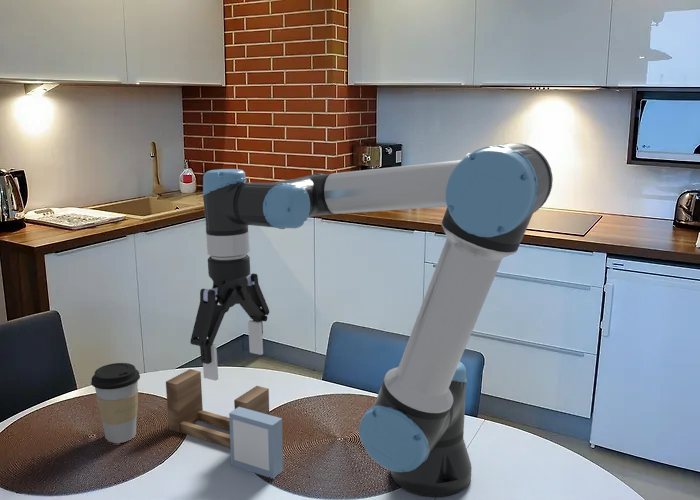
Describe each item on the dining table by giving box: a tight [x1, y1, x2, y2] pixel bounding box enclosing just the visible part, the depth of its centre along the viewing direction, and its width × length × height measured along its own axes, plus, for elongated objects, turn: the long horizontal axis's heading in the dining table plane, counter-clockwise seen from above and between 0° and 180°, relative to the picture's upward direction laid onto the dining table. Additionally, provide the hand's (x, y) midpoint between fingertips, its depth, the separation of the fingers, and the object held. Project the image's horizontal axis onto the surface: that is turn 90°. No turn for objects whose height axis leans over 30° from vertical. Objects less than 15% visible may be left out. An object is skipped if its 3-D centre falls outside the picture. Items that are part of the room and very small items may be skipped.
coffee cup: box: [90, 362, 141, 443], centre depth 134 cm, size 9×9×15 cm
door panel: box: [228, 407, 284, 480], centre depth 123 cm, size 10×3×11 cm, turn 62°
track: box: [165, 368, 270, 449], centre depth 136 cm, size 21×8×11 cm, turn 62°
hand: (234, 365), depth 122 cm, fingers open, 13 cm apart
